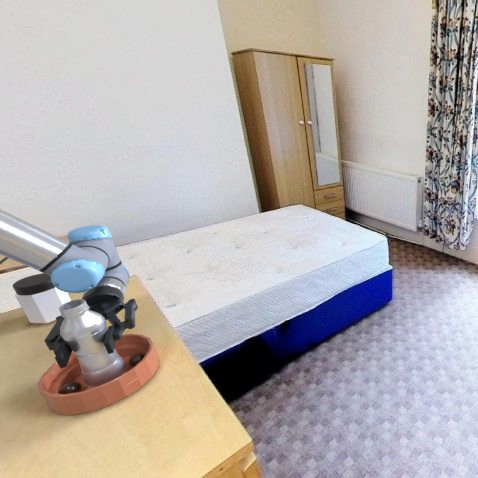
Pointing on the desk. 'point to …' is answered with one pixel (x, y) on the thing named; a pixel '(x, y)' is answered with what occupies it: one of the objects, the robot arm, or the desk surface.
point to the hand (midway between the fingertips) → (85, 355)
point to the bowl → (107, 392)
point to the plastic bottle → (89, 343)
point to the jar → (40, 298)
